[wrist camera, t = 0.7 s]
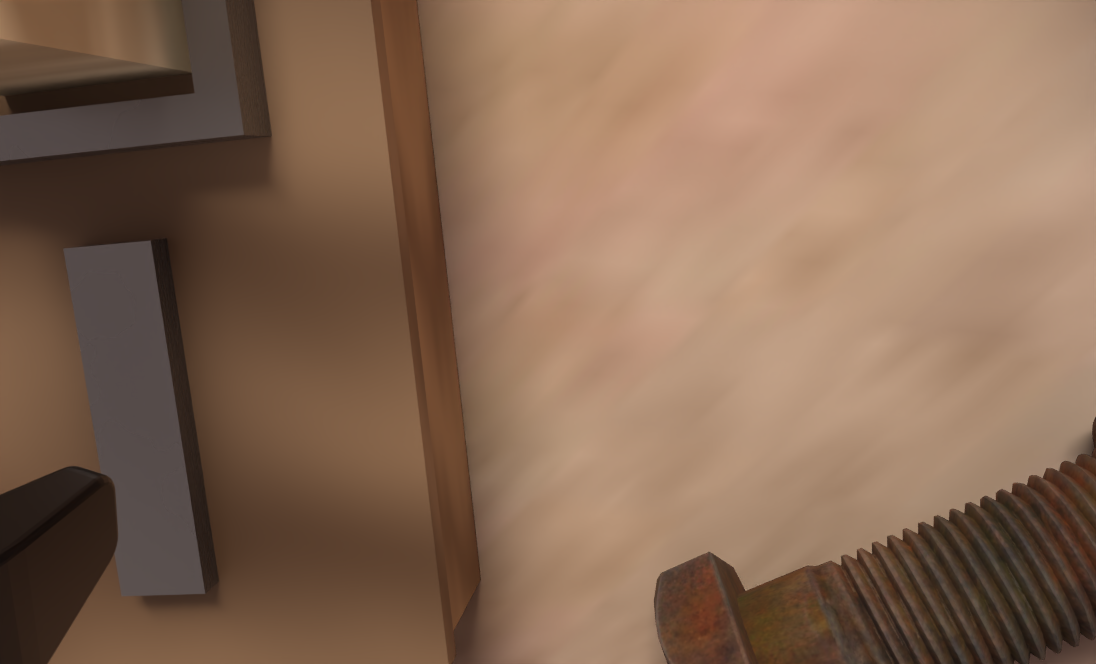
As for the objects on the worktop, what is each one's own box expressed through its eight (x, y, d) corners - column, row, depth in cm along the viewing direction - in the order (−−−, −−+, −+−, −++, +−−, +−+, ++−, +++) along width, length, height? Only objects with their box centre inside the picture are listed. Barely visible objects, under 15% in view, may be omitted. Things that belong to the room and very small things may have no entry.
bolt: (1329, 391, 22) (711, 648, 25) (1326, 218, 20) (629, 529, 22) (1577, 597, 18) (786, 888, 20) (1620, 410, 15) (693, 776, 17)
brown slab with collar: (489, 587, 24) (433, 700, 19) (69, 600, 26) (-86, 707, 21) (400, -221, 21) (308, -340, 16) (-63, -146, 23) (-277, -231, 18)
